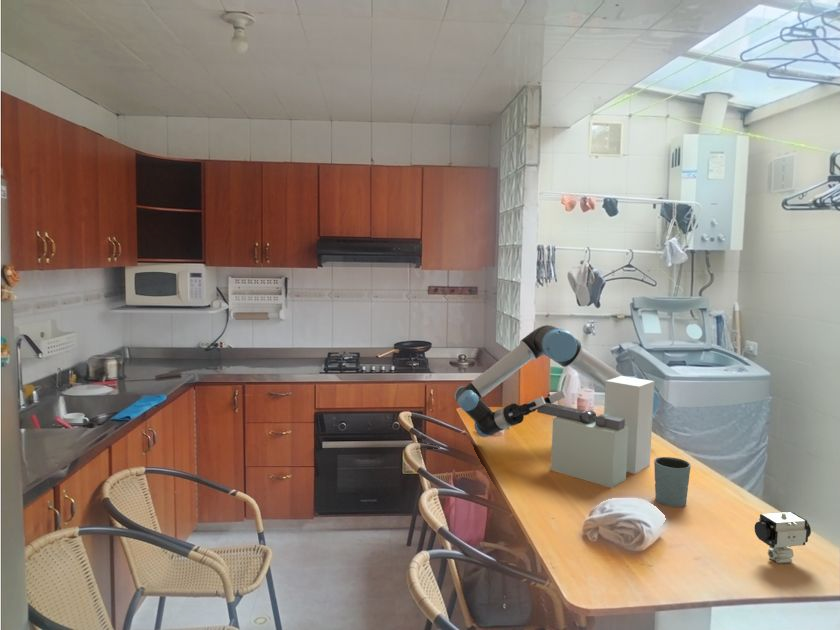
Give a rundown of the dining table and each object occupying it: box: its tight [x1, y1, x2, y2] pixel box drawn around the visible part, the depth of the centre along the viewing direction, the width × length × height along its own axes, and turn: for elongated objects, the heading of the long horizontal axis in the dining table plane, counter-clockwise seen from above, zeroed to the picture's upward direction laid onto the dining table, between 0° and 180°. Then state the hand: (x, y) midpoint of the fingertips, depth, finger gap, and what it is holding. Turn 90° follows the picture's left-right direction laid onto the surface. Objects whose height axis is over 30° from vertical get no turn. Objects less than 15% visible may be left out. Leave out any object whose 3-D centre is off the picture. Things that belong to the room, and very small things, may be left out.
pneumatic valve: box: [754, 512, 812, 564], centre depth 144 cm, size 6×12×12 cm, turn 99°
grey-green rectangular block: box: [550, 413, 629, 489], centre depth 198 cm, size 22×10×21 cm, turn 46°
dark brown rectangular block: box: [536, 402, 597, 424], centre depth 203 cm, size 20×5×3 cm, turn 46°
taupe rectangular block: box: [603, 375, 655, 475], centre depth 207 cm, size 12×12×30 cm
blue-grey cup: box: [653, 456, 692, 508], centre depth 178 cm, size 10×10×12 cm
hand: (554, 396), depth 206 cm, fingers open, 13 cm apart
